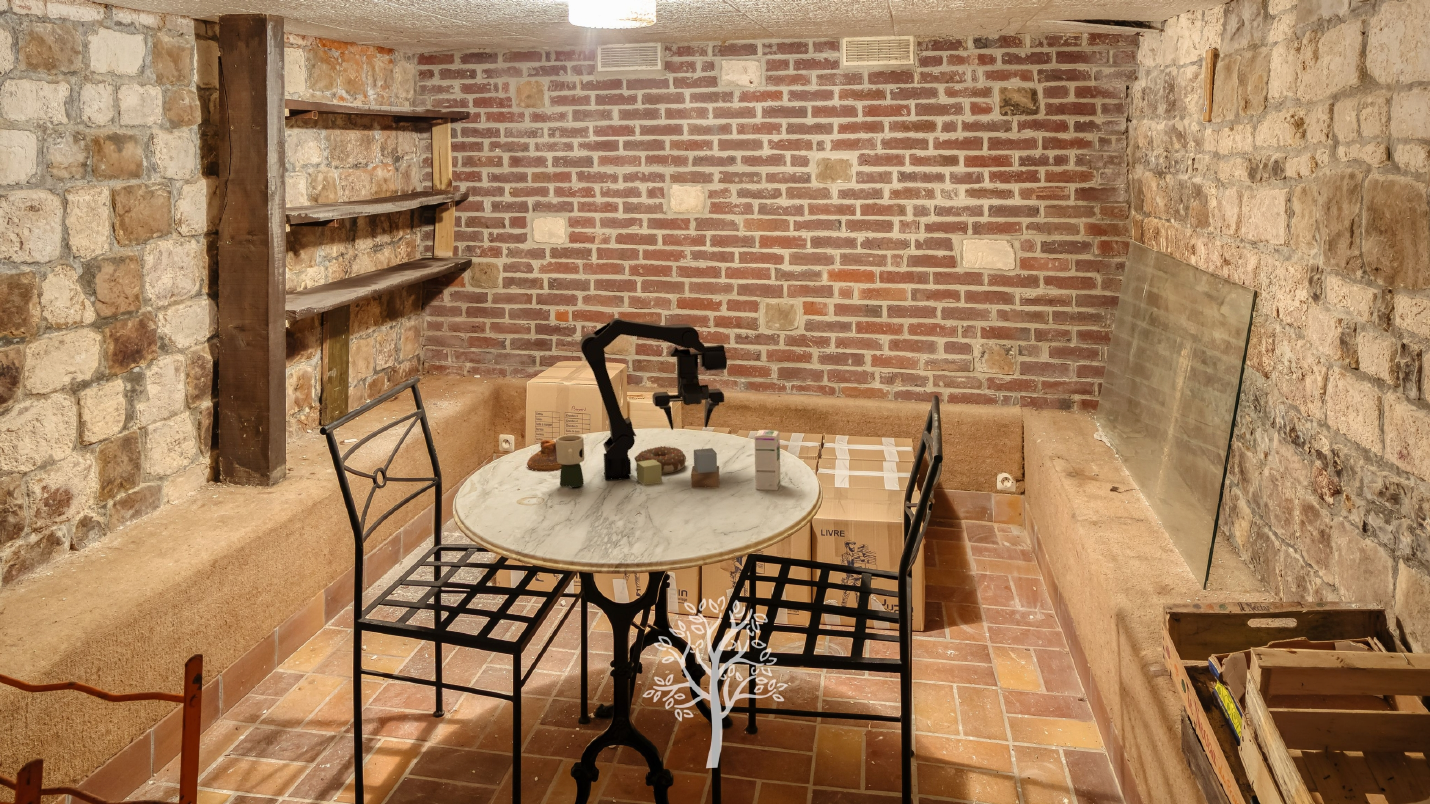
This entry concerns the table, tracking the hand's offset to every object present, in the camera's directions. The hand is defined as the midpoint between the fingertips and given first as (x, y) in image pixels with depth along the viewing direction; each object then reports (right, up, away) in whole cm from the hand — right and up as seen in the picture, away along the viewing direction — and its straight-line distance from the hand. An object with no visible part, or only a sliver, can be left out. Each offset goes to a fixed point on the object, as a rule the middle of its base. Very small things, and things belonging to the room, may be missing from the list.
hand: (689, 428), depth 272 cm
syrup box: (+21, -15, -12) cm, 28 cm away
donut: (-8, -11, +6) cm, 15 cm away
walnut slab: (+5, -14, -8) cm, 17 cm away
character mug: (-30, -15, -8) cm, 35 cm away
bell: (-40, -11, +10) cm, 42 cm away
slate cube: (+5, -11, -9) cm, 15 cm away
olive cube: (-10, -14, -5) cm, 18 cm away
